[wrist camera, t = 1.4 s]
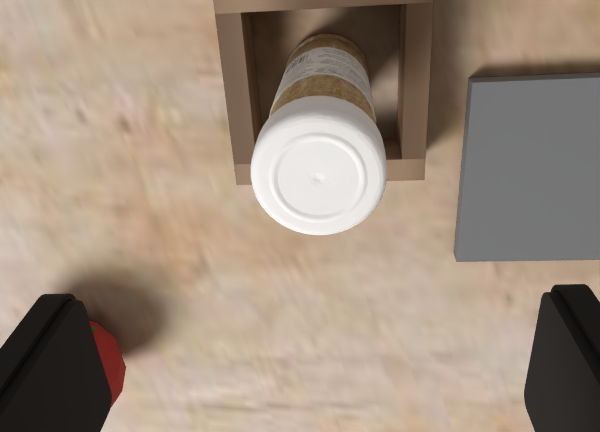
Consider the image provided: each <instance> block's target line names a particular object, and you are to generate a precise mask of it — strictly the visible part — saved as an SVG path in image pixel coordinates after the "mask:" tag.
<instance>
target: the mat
mask: <svg viewBox="0 0 600 432" xmlns="http://www.w3.org/2000/svg"><path fill="white" fill-rule="evenodd" d="M454 255H455V258H456V261H457V262H478V261H551V260H600V72H593V73H570V74H546V75H522V76H498V77H474V78H469V82H468V93H467V105H466V116H465V128H464V140H463V151H462V163H461V174H460V186H459V197H458V209H457V221H456V232H455V244H454Z"/></svg>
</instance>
